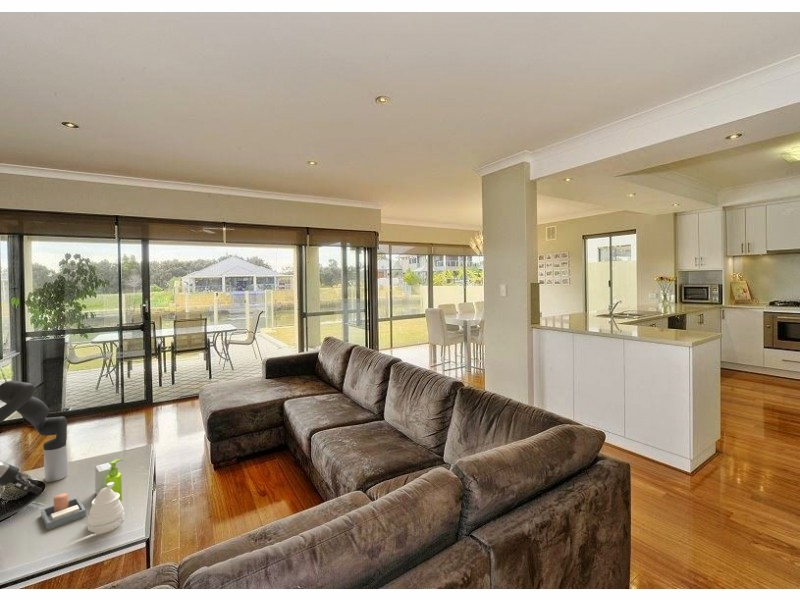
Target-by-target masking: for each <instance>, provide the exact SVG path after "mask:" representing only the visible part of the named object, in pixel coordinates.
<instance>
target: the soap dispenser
mask: <svg viewBox="0 0 800 600" xmlns="http://www.w3.org/2000/svg"><path fill="white" fill-rule="evenodd" d="M123 460H124V459H122V458H118V459H117V458H116V459H114V460H112V461H110V462H108V463H109V464H110V465H111V468H110V469H109V475H108V476H107V477H106V487H107V484H108V483H110V482H114V485H113V487H112V488H110V489H112V490H113V491H114V492H116V493H119V494H120V497H119V500H120V501H121V502H122V500H123V491H122V490H123V489H122V488H123V487H122V473H121V472H119V468H118V466H116V463H119V462H121V461H123ZM107 488H108V487H107Z"/></svg>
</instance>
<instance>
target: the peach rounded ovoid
mask: <svg viewBox="0 0 800 600" xmlns="http://www.w3.org/2000/svg"><path fill="white" fill-rule="evenodd" d="M68 500H69V493H68V492H67V493H66V492H64V493H60V494H57V495H55V496H53V505H54V513H55V512H58V511H61V510H64V509H67V508H69V502H68Z"/></svg>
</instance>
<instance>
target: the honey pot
mask: <svg viewBox="0 0 800 600" xmlns="http://www.w3.org/2000/svg"><path fill="white" fill-rule="evenodd" d="M113 485H114V482H110V483H108V484H107V487H108V488H107V487H106V488H103V489H102V490H101V491H100V492H99V493H98V495H97V494H96V496H95V498H94V499H93V500H92V501H91V508H90V510H89V515H88V516H87V520H86V521H87V522H86V523H87V530H88V531H89V532H91V535H100V534H105V533H108V532H112V531H113V530H116V529H117V528H119V527H120V526H122V524H123V523H124V522H123V521H124V519H125V512H124V511H125V510H124V509H125V507H124V506H123V504H122V501H120V500H119V497H120V494H119V493H116V492H114V491H113V490H112V489H110V488H112V487H113ZM118 526H119V527H118Z"/></svg>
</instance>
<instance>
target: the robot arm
mask: <svg viewBox="0 0 800 600" xmlns="http://www.w3.org/2000/svg"><path fill="white" fill-rule="evenodd" d="M35 392H36V386H35V385H34V384H32V383H29V382H25V381H16V380H9V381H5V382H3V383H1V384H0V402H3V403H4V405H3V406H1V407H0V424H1V423H3V422H4V421H5V420H6V419H8V418H9V417H10V416H12V415H13V414H14V413H15V412H17V413H18V414H19V415H21V417H23V418H24V420H26V421H27V422H29V423H30V425H32V426H33V428H34V429H35V430H36V431H37V433H38V434H39V435H41V436H45V437H46V436H55V437H54V438H51V439H50V440H47V441H45V442H44V443H43V446H42V447H43V448H42V449H43V467H44V468H43V469H44V482H46V483H51V482H52V483H53V482H57V481H61V480H63V479H64V478H67V476H68V474H69V473H68V454H67V453H68V452H67V451H68V450H67V438H68V419H67V418H66V416H62V415H61V416H54V417H53V416H52V417H47V416H48V415H49V411H50V409H49V407H48V405H47V404H46V403H45V402H44V401H42V400H41V399H40V398H38V397H35V396H33V395H35ZM8 484H11V485H12V486H13V487H14V488H16V489H18V490H20V491H23V492H25V493H29V492H30V493H34V494H36V495H38V494H40V493H41V492H42V490H43V489H42V488H41V487H39V486H38V484H39V481H37V480H35V479H33V478H31V477H30V476H29V475H28V474H24V473H21V472H20V469H19V467H17V466H14V465H12V464H10V463H8V462H4V461H2V460H0V486H1V487H5V486H7V485H8Z"/></svg>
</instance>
